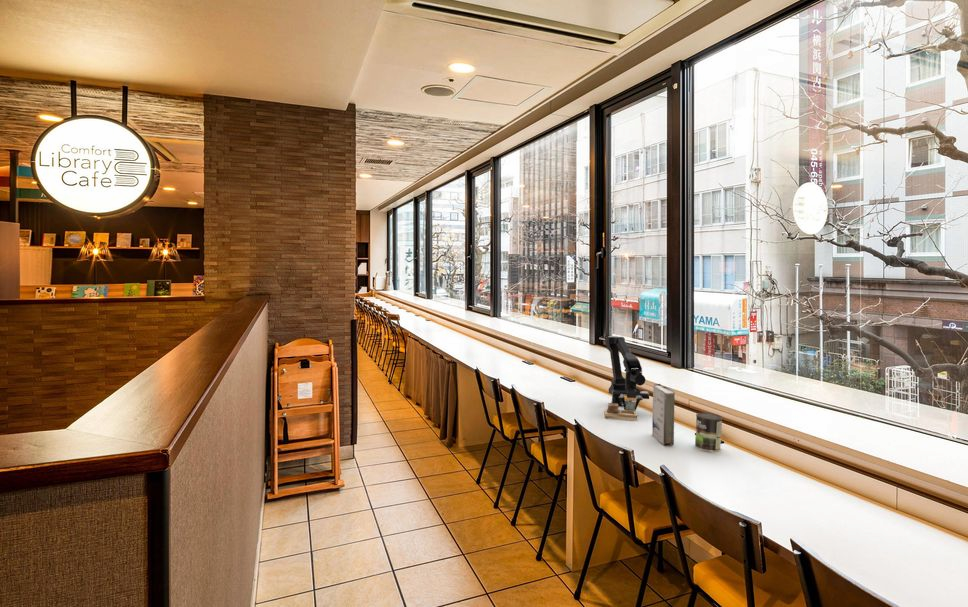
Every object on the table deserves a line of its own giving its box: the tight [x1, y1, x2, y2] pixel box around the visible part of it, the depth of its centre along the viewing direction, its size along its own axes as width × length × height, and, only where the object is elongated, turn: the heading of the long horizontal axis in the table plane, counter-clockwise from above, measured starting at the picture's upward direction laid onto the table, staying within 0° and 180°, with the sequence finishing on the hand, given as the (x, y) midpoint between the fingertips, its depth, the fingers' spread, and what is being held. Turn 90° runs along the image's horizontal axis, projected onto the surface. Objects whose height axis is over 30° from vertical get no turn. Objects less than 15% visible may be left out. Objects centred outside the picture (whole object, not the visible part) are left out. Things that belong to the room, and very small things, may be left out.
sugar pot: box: [625, 398, 636, 411], centre depth 273 cm, size 5×5×7 cm
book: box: [651, 383, 676, 446], centre depth 228 cm, size 16×6×24 cm, turn 178°
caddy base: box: [603, 408, 638, 421], centre depth 264 cm, size 9×16×2 cm, turn 78°
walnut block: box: [607, 402, 619, 414], centre depth 265 cm, size 5×5×5 cm
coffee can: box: [694, 412, 723, 453], centre depth 219 cm, size 10×10×14 cm
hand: (629, 410), depth 273 cm, fingers closed on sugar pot, 5 cm apart
